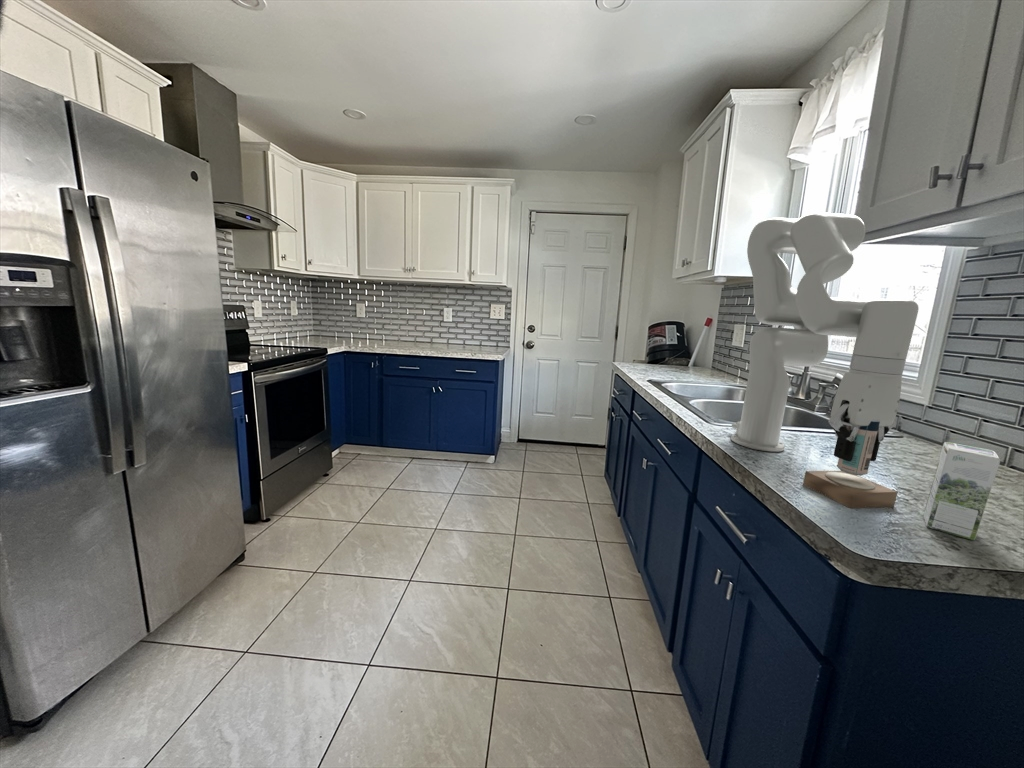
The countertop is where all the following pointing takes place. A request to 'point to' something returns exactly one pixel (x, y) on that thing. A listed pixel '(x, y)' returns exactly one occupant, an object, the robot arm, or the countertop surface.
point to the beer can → (861, 450)
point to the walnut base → (850, 489)
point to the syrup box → (960, 489)
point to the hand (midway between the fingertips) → (854, 457)
